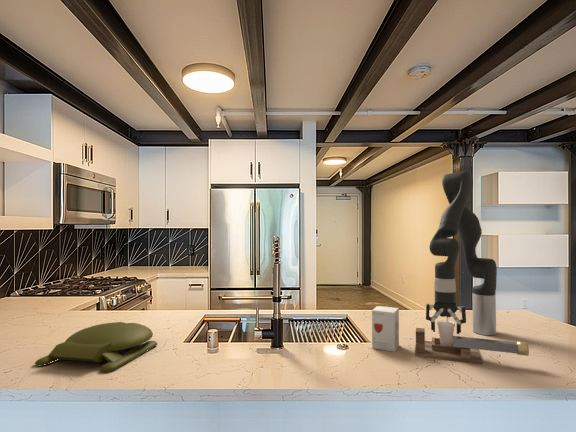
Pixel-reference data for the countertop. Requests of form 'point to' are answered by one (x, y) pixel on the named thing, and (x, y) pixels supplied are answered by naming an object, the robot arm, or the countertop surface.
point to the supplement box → (385, 328)
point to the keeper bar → (491, 345)
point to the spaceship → (103, 345)
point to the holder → (443, 350)
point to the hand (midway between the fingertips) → (445, 332)
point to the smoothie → (446, 331)
